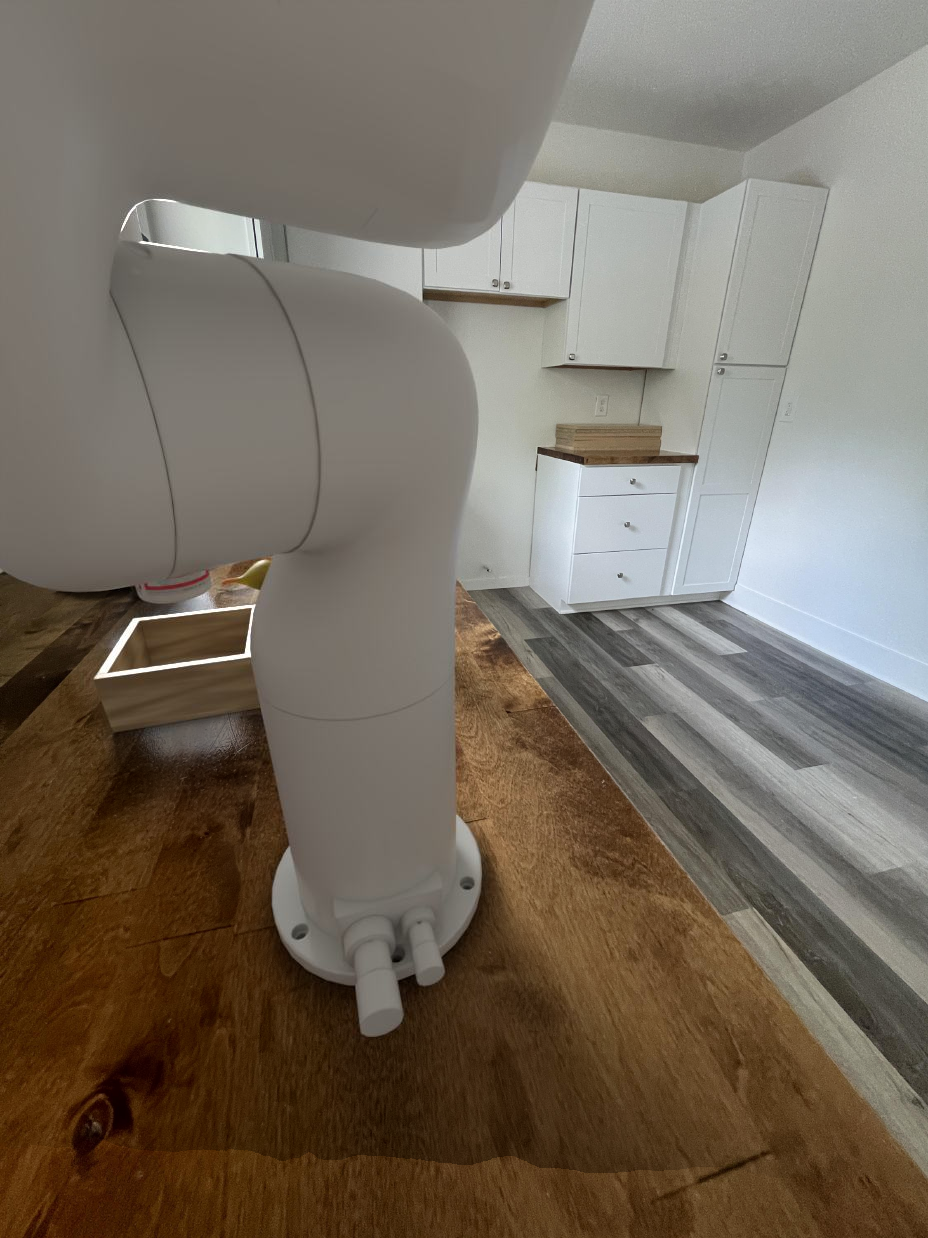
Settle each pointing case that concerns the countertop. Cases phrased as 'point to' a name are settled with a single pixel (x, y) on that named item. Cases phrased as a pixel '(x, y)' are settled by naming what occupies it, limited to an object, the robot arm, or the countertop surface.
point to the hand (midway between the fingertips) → (160, 530)
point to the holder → (179, 669)
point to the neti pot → (252, 575)
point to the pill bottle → (175, 588)
